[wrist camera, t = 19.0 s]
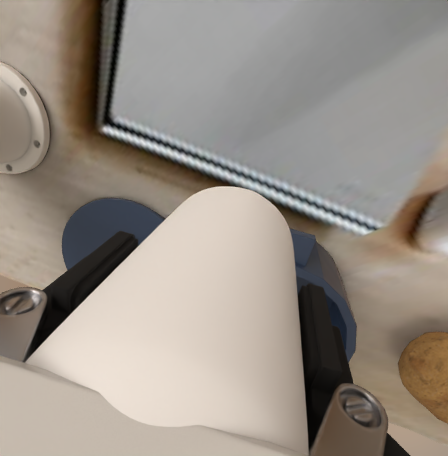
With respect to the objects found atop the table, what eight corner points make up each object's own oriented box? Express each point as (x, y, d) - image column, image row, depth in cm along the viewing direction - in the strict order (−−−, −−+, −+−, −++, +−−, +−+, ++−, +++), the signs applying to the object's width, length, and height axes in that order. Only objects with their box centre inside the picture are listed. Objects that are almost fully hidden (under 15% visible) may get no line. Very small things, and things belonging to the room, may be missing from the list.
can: (307, 197, 14) (400, 535, 3) (277, 307, 17) (268, 701, 6) (175, 171, 15) (-139, 373, 4) (166, 281, 17) (-33, 588, 6)
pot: (191, 332, 43) (171, 383, 35) (226, 187, 34) (208, 212, 26) (306, 369, 41) (310, 430, 34) (374, 228, 32) (402, 267, 25)
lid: (66, 293, 44) (35, 320, 39) (67, 179, 37) (29, 193, 32) (179, 329, 43) (164, 362, 37) (203, 219, 36) (188, 240, 30)
